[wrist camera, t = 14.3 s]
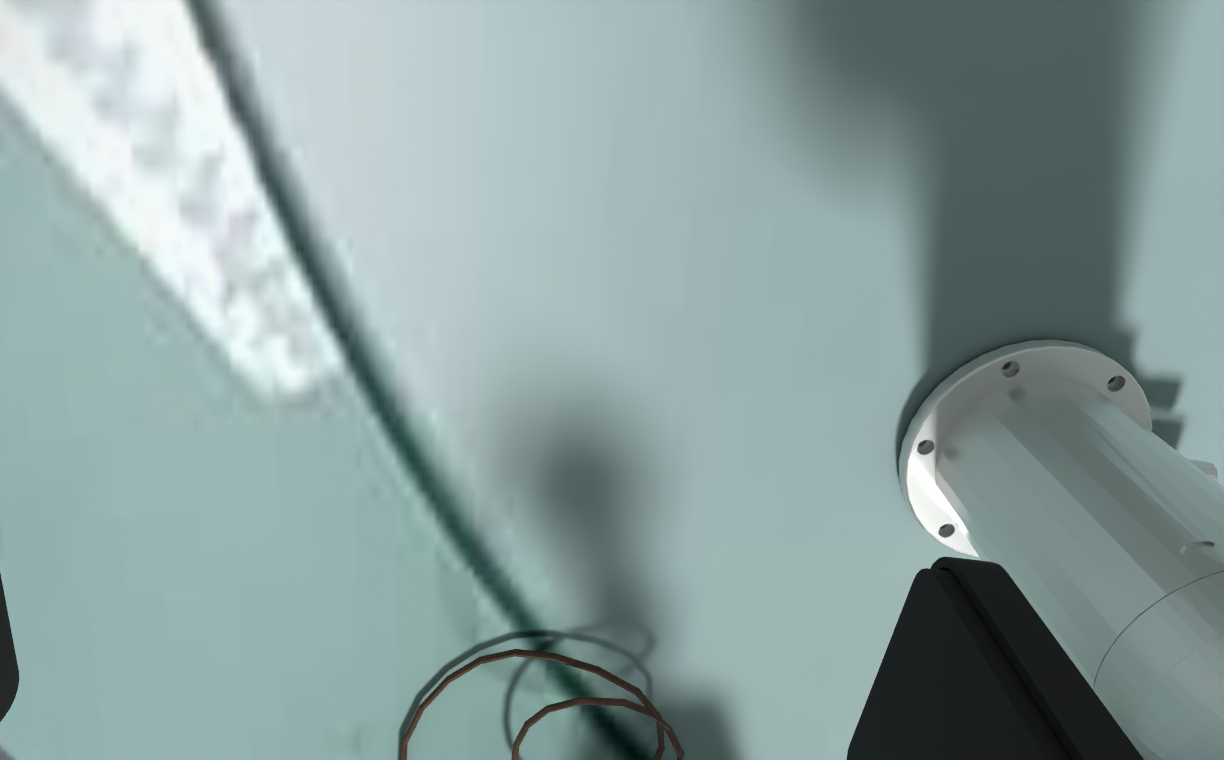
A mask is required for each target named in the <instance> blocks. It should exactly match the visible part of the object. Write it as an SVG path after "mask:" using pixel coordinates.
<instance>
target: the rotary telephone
mask: <svg viewBox="0 0 1224 760" xmlns="http://www.w3.org/2000/svg"><path fill="white" fill-rule="evenodd" d="M513 656H517V657H527V658H536V659H546V660H554V661H557V662H560V663H563V664H567V665H570V666H573V667H576V668H580V669H583V670H586V671H590V672H593V673H596V674H598V675H600V676H602V677H604V678H605V679H607V680H609V681H611V682H613V683H615V684H617V685H618V686H620V687H622V688H624V689H626V690H628V691H629V692H631V693H633V694H635V695H636V696H637V697H638V698H639V700H640V701H641V702H642V703H643V704H644V705H645V707H643V706H641V705H638V704H636V703H633V702H631V701H628V700H626V699H612V698H590V697H579V698H575V699H571V700H567V701H563V702H559V703H555V704H551V705H547V706H546V707H544V708H543V709H542V710H540V711H539V712H538V713H536V714H535V715H534V716H532V717H531V718H530V719H528V720H527V721H526V722H525V723H524V725H523V727H522V729H521V731H520V732H519V734H518V736H517V738H516V740H515V742H514V744H513V752H512V760H518V752H519V746H520V744H521V742H522V740H523V738H524V736H525V734H526V733H527V731H528V729H529V727H531V726H532V725H533V724H535V723H536V722H537V721H539V720H540V719H541V718H542V717H544V716H545V715H546V714H548V713H549V712H553V711H557V710H560V709H564V708H568V707H572V706H576V705H580V704H587V705H614V706H624V707H627V708H630V709H633V710H635V711H638V712H641V713H644V714H646V715H648V716H649V717H651V718H652V719H653V720H654V721H655V722H656V723H657V733H658V743H659V747H658V749H657V751H656V754H655V756H654V758H653V760H660V759H661V757H662V755H663V752H664V750H665V746H664V733H663V729H664V730H665V731H666V732H667V734H668V736H669V738H670V741H671V743H672V745H673V747H674V749H675V751H676V753H677V755H678V756H677V760H683V758H684V752H683V750H682V748H681V746H680V744H679V742H678V740H677V738H676V736H675V734H674V732H673V730H672V728H671V727H670V726H669V725H668V724H667V723H666V722H665V721H664V720H663V719H662V716H661V715H660V713H659V712H658V711H657V710H656V709H655V707H654V706H653V705H652V704H651V702H650V701H649V700H648V699H647V698H646V696H645V695H644V694H643V693H642V692H641V690H640V689H638V688H636V687H635V686H633V685H631V684H629V683H627V682H626V681H624V680H622V679H620V678H618V677H617V676H615V675H613V674H611V673H609V672H607V671H606V670H604V669H602V668H600V667H598V666H595V665H591V664H588V663H585V662H582V661H578V660H575V659H572V658H569V657H565V656H562V655H559V654H556V653H548V652H539V651H530V650H520V649H513V650H509V651H504V652H500V653H495V654H490V655H486V656H481V657H479V658H477V659H475V660H474V661H472V662H470V663H469V664H467V665H465V666H464V667H462V668H460V669H459V670H457V671H455V672H454V673H452V674H450V675H449V676H447V677H446V678H445V679H444V680H443V681H442V682H441V683H440V684H439V686H438V687H437V688H436V689H435V690H434V691H433V692H432V693H431V694H430V695H429V696H428V697H427V698H426V699H425V701H424V702H423V703H422V704H421V705H420V706H419V707H418V709H417V712H416V714H415V716H414V718H413V720H412V722H411V724H410V726H409V728H408V730H407V732H406V734H405V736H404V738H403V740H402V742H401V754H400V760H407V743H408V741H409V739H410V737H411V735H412V733H413V731H414V729H415V727H416V725H417V723H418V721H419V719H420V717H421V715H422V713H423V711H424V709H425V708H426V707H427V706H428V705H429V704H430V703H431V702H432V701H433V700H434V699H435V698H436V697H437V696H438V694H439V693H440V692H441V691H442V690H443V689H444V688H445V687H446V686H447V685H448V684H449V683H450V682H452V681H453V680H455V679H457V678H458V677H460V676H462V675H463V674H465V673H467V672H468V671H470V670H472V669H473V668H475V667H477V666H478V665H480V664H483V663H487V662H491V661H496V660H500V659H505V658H509V657H513Z"/></svg>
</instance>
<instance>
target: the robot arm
mask: <svg viewBox="0 0 1224 760" xmlns="http://www.w3.org/2000/svg"><path fill="white" fill-rule="evenodd" d="M1217 477H1218V475H1217V469H1216V468H1215V466H1214V465H1213V464H1212V463H1209V462H1205V461H1197V460H1190V459H1186V458H1185V457H1184V456H1182V455H1181V454H1180V453H1179V452H1177V451H1176V450H1175V449H1173V448H1172V447H1171V446H1170V445H1168V444H1167V443H1166V442H1164V441H1163V440H1162V439H1161V438H1159V437H1158V436H1157V435H1155V434H1154V433H1153V432H1152V420H1151V411H1150V407H1149V404H1148V402H1147V399H1146V396H1145V394H1144V391H1143V389H1142V388H1141V387H1140V385H1139V384H1138V382H1137V381H1136V380H1135V378H1134V377H1133V375H1132V374H1130V373H1129V372H1128V371H1127V370H1126V369H1124V368H1123V367H1122V366H1121V365H1120V364H1118V363H1117V362H1116V361H1114V360H1113V359H1111V358H1110V357H1108V356H1106V355H1105V354H1103V353H1102V352H1100V351H1099V350H1096V349H1093V348H1091V347H1088V346H1085V345H1082V344H1080V343H1076V342H1069V341H1062V340H1055V339H1054V340H1031V341H1026V342H1021V343H1017V344H1012V345H1007V346H1004V347H1001V348H999V349H996V350H994V351H991V352H989V353H986V354H983V355H981V356H979V357H978V358H976V359H974V360H972V361H971V362H969V363H967V364H966V365H964V366H962V367H960V368H959V369H958V370H956V371H955V372H954V373H953V374H951V375H950V376H949V377H948V378H946V379H945V380H944V381H943V382H941V383H940V384H939V385H938V386H937V387H936V389H935V390H934V391H933V392H932V393H931V394H930V395H929V396H928V397H927V399H926V400H925V401H924V402H923V403H922V405H921V406H920V408H919V410H918V411H917V413H916V414H915V416H914V417H913V419H912V421H911V422H910V425H909V427H908V430H907V432H906V435H905V437H904V440H903V443H902V448H901V453H900V458H899V481H900V485H901V489H902V492H903V496H904V499H905V501H906V503H907V505H908V506H909V508H910V510H911V512H912V514H913V515H914V517H915V518H916V519H917V521H918V522H919V524H920V525H921V526H922V528H923V529H924V530H925V531H926V532H927V533H928V534H929V535H930V536H931V537H932V538H934V539H935V540H936V541H937V542H939V543H941V544H943V545H945V546H947V547H948V548H950V549H952V550H954V551H957V552H960V553H963V554H967V555H970V556H973V557H980V558H981V560H982V561H979V560H970V559H961V558H952V557H942V558H939V559H938V560H937V561H936V562H934V563H933V565H932V567H931V569H927V568H926V569H922V570H920V571H919V572H918V573H917V575H916V577H915V579H914V581H913V583H912V586H911V588H910V591H909V594H908V596H907V599H906V601H905V604H904V606H903V609H902V612H901V614H900V617H899V619H898V622H897V624H896V627H895V630H894V632H893V635H892V637H891V640H890V642H889V645H888V648H887V650H886V653H885V655H884V658H883V660H882V663H881V666H880V668H879V671H878V673H877V676H876V678H875V681H874V684H873V686H872V689H871V691H870V694H869V696H868V699H867V702H866V704H865V707H864V709H863V712H862V714H861V717H860V720H859V722H858V725H857V727H856V730H855V732H854V735H853V738H852V740H851V743H850V745H849V749H848V754H847V760H1224V487H1222V486H1221V485H1220V484H1218V483H1217V482H1216V481H1217ZM18 684H19V670H18V665H17V660H16V654H15V649H14V644H13V638H12V633H11V628H10V622H9V617H8V612H7V606H6V601H5V596H4V590H3V585H2V580H1V574H0V721H1V720H2V719H3V718H4V716H5V715H6V713H7V712H8V710H9V709H10V707H11V705H12V703H13V701H14V699H15V696H16V693H17V689H18Z"/></svg>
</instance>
